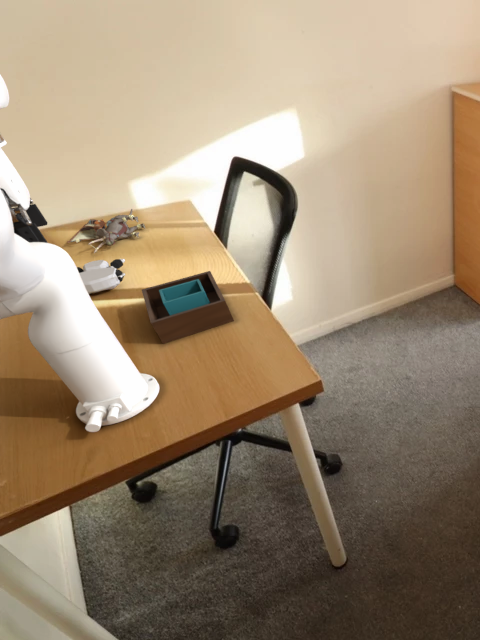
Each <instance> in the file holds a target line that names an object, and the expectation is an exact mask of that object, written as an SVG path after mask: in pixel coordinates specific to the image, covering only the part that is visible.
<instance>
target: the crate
mask: <svg viewBox="0 0 480 640" xmlns="http://www.w3.org/2000/svg"><path fill="white" fill-rule="evenodd" d="M197 279H199V280H200V283H201V285H202V287H203V289H204V291H205V293H206V295H207V297H208V299H209V301H210V304H206V305H203V306H200V307H197V308H193V309H190V310H187V311H183V312H180V313H177V314H174V315H169V313H168V311H167V309H166V308H165V306H164V304H163V301H162V298H161V295H160V292H159V290H161V289H164V288H168V287H172V286H175V285H179V284H182V283H186V282H190V281H193V280H197ZM141 293H142V297H143V301H144V304H145V308H146V311H147V315H148V318H149V321H150V324H151V326H152V328H153V329H154V331H155V333H156V335H157V336H158V338H159V339H160V341H161V343H162V344H163V345H165V344H167V343H171V342H174V341H177V340H180V339H182V338H187V337H189V336H192V335H195V334H198V333H201V332H204V331H207V330H210V329H213V328H216V327H221V326H222V325H225V324H228V323H232V322H234V321H235V319H234V317H233V315H232V312H231V310H230V308H229V306H228V303H227V301H226V299H225V298H224V295H223V293H222V291H221V289H220V287H219V286H218V283H217V282H216V280H215V278H214V276H213V273H212V271H211V270H208V271H204V272H201V273H197V274H193V275H190V276H186V277H182V278H178V279H175V280H171V281H167V282H164V283H160V284H156V285H153V286H149V287H146V288H142V289H141Z"/></svg>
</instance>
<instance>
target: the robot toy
mask: <svg viewBox="0 0 480 640" xmlns="http://www.w3.org/2000/svg"><path fill="white" fill-rule="evenodd" d="M125 262H126V259H125V258H116V259H114V260H112V261H111V262H110V263H109V262H108V261H106V260H104V259H97V260H92V261H89V262H87V263H84V265H83V266H82V267H81V266H76V267H77V269H78V272H79V274H80V276H81V279H82V281H83V283H84V286H85V288H86V290H87V292H88V294H89V295H90V294H95V293H99V292H102V291H106V290H107V291H108V290H113V289H115V288H117V287H118V286H119V285H120V284H121V282H122V281H123V280H124V277H126V273H125V272H123V271H122V270H121V269H120V268H122V267H123V266H124V263H125Z"/></svg>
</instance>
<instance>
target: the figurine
mask: <svg viewBox="0 0 480 640" xmlns="http://www.w3.org/2000/svg"><path fill="white" fill-rule="evenodd" d="M128 221H133V222H134V221H135V222H136V223H137V224H136V225H134V226H130V227H129V225H128V224H127V222H128ZM139 221H140V220H139V216H135V215H133V208H131V209H130V212H129V214H118V215H116V216H114V217H111V218H110V219H109V220H106V222H105V220H104V219H103V218H101V219H94V218H90V219H89V220H88V221H87V223H85V224H84V225H83V226H82V227H81V228H80V229H79V230H78V231H76V233H75V234H74V235H73V236H72V237H71V238H70V239H69V240H67V244H70V243H72V242H76V243H79V242H82V241H90V242H89V243H88V244H87V245H88V246H91V247H93V248H94V251H93V254H95V253H98V250H99V249H100V248H102V247H103V246H104V245H107V246H114V245H115V244H116V241H118V240H122V239H127V238H133V237H134V238H135V237H136V238H138V239H139V238H140V236H139V234H140V232H138V231H137V230H142V229H146V226H145V223H139ZM135 231H137V232H135ZM98 242H100V244H98V246H97V247H95V246H93V245H92V244H94V243H98Z"/></svg>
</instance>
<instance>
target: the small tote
mask: <svg viewBox="0 0 480 640" xmlns="http://www.w3.org/2000/svg"><path fill="white" fill-rule="evenodd" d="M159 292H160V295H161V298H162V301H163V304H164V306H165V308H166V309H167V311H168V313H169V315H174V314H177V313H180V312H183V311H187V310H190V309H193V308H197V307H200V306H203V305H206V304H210V301H209V299H208V297H207V295H206V293H205V291H204V289H203V287H202V285H201V283H200V280H199V279H197V280H193V281H190V282H186V283H182V284H179V285H175V286H172V287H168V288H164V289H161V290H159Z"/></svg>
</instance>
